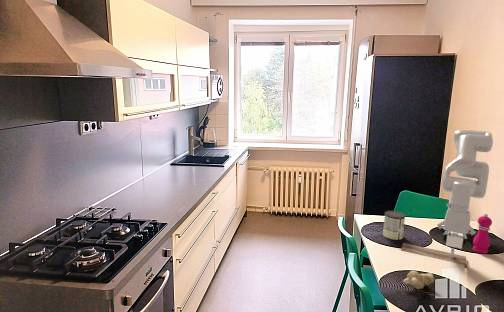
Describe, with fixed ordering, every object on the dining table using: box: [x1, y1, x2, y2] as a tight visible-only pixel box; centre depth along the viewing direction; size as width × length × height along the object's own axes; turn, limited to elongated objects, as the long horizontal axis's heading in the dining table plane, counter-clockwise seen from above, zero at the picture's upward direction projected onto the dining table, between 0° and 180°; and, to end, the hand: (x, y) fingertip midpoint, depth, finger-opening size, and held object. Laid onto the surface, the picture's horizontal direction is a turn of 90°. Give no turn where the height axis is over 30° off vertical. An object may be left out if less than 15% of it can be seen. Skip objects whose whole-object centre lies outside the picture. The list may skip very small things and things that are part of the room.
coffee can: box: [382, 210, 406, 241], centre depth 188 cm, size 10×10×14 cm
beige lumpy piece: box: [402, 270, 435, 290], centre depth 141 cm, size 8×7×12 cm
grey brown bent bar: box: [400, 242, 468, 269], centre depth 169 cm, size 10×28×2 cm, turn 61°
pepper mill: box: [472, 213, 493, 255], centre depth 175 cm, size 7×7×20 cm
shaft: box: [450, 247, 455, 259], centre depth 165 cm, size 3×1×4 cm, turn 151°
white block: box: [445, 231, 463, 250], centre depth 163 cm, size 6×6×5 cm
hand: (453, 243), depth 164 cm, fingers closed on white block, 6 cm apart
